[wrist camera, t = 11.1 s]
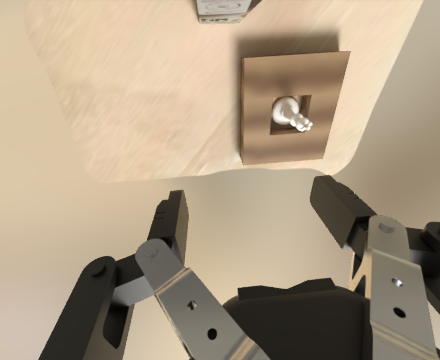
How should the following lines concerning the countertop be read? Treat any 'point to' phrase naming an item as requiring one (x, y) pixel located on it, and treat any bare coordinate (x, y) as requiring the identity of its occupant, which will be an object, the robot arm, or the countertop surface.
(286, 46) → the countertop surface
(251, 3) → the coffee box
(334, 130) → the countertop surface
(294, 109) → the chess piece
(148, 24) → the countertop surface
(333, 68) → the socket board
